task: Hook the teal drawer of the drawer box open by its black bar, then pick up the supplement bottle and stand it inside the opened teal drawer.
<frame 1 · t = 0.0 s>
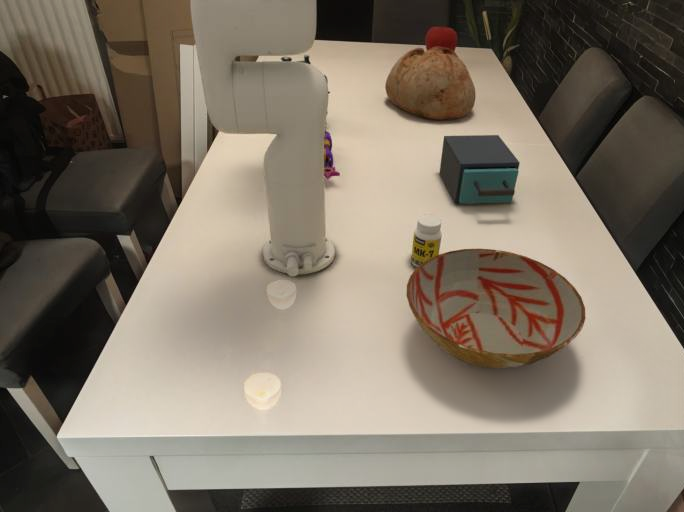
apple: (438, 63, 192), on the table
purple toy figure: (306, 165, 126), on the table
coffee grinder: (306, 127, 143), on the table
bread: (429, 107, 158), on the table
teal drawer: (483, 178, 114), point 4 cm above the table, slide at 0.5 cm
supplement bottle: (424, 263, 98), on the table
drawer box: (473, 187, 120), on the table
bowl: (484, 338, 83), on the table
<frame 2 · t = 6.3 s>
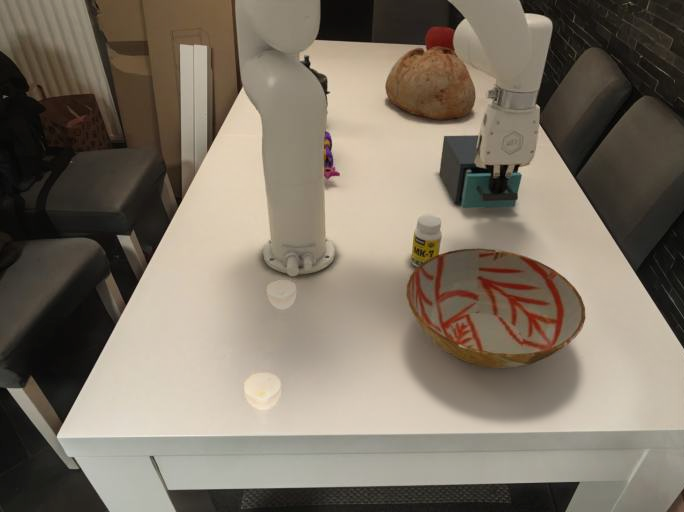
hand: (496, 193, 108), 5 cm above the table, tool pointing down, fingers closed
teal drawer: (486, 182, 112), point 4 cm above the table, slide at 2.4 cm
everything else where it was.
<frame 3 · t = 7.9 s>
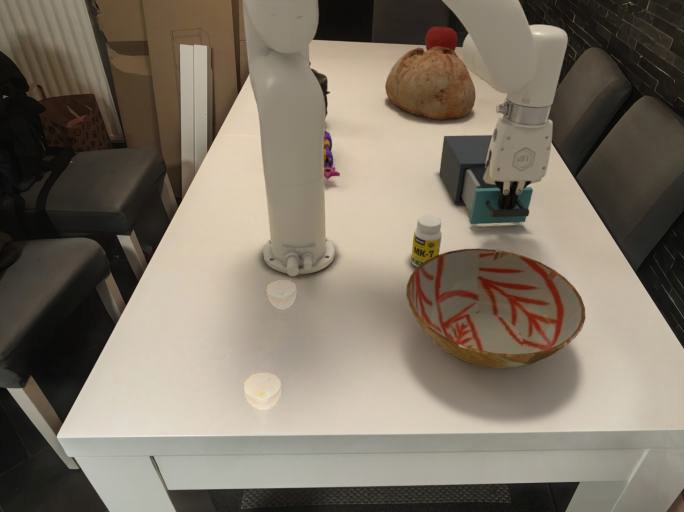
hand: (505, 210, 103), 5 cm above the table, tool pointing down, fingers closed
teal drawer: (495, 197, 108), point 4 cm above the table, slide at 8.7 cm, touching gripper
everything else where it was.
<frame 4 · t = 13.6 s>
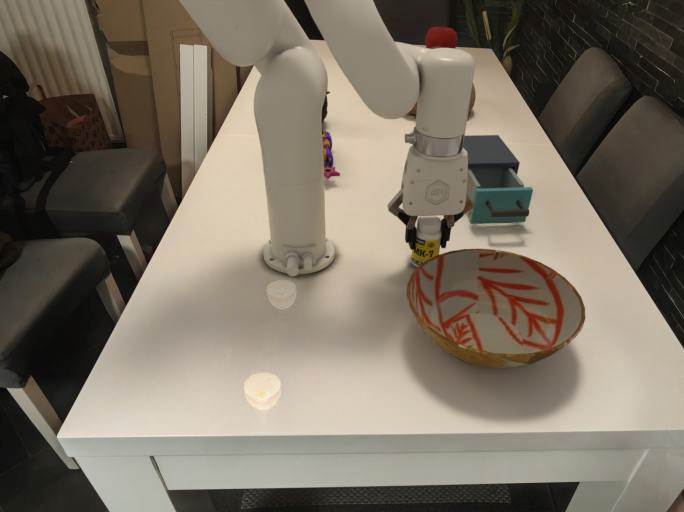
hand: (426, 243, 95), 4 cm above the table, tool pointing down, fingers closed on supplement bottle, 4 cm apart
teal drawer: (495, 197, 108), point 4 cm above the table, slide at 8.8 cm
supplement bottle: (424, 263, 98), on the table, touching gripper
everything else where it was.
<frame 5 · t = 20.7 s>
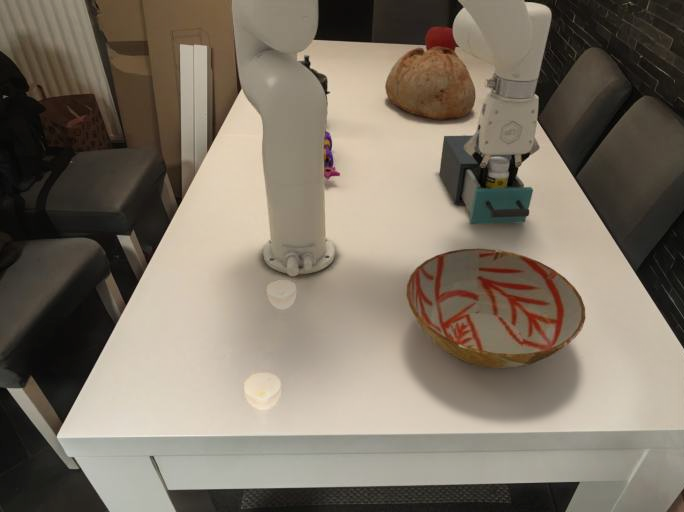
hand: (494, 183, 107), 7 cm above the table, tool pointing down, fingers closed on supplement bottle, 4 cm apart
teal drawer: (495, 197, 108), point 4 cm above the table, slide at 8.8 cm, touching gripper
supplement bottle: (491, 201, 110), point 3 cm above the table, touching gripper
everything else where it was.
when the fingers open (7 cm above the table, at t = 26.2 s): supplement bottle drops 1 cm, resting on teal drawer.
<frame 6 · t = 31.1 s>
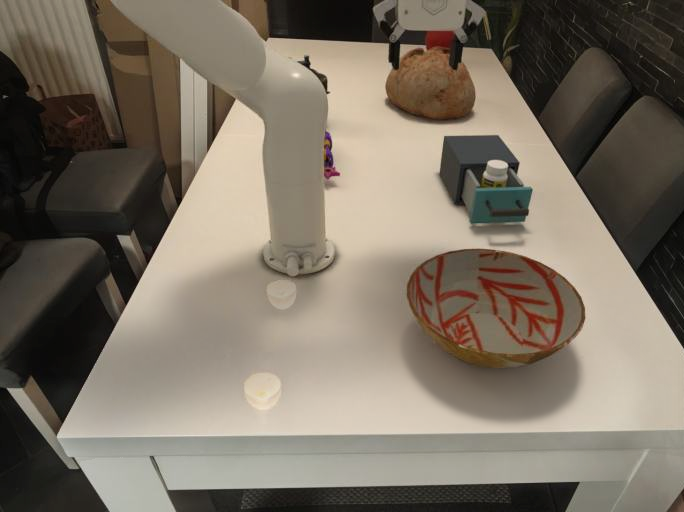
hand: (424, 67, 89), 28 cm above the table, tool pointing down, fingers open, 9 cm apart
teal drawer: (495, 196, 108), point 4 cm above the table, slide at 8.6 cm, touching supplement bottle
supplement bottle: (489, 204, 111), point 2 cm above the table, touching teal drawer
everything else where it was.
at the end: teal drawer slide at 8.6 cm; supplement bottle inside the target area in the teal drawer (0.9 cm from its centre), point 1.9 cm above the drawer box's base; supplement bottle tilted 0° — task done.
